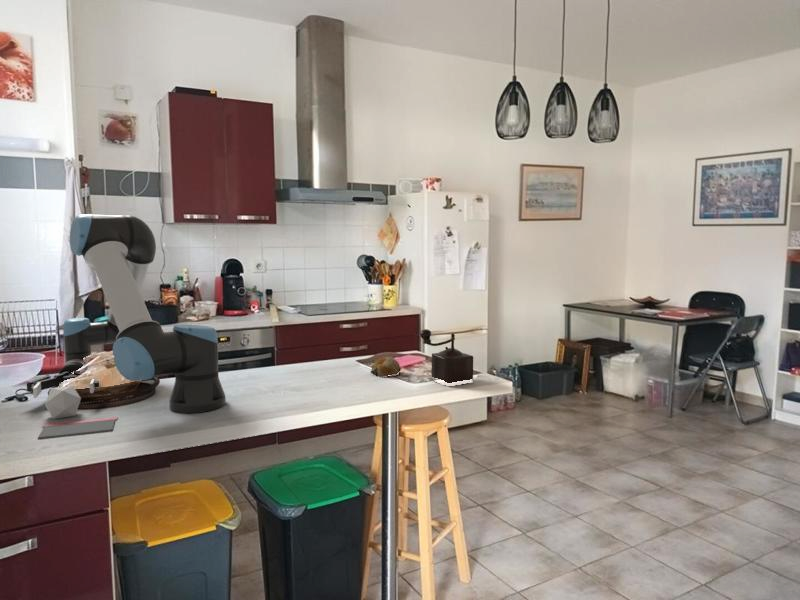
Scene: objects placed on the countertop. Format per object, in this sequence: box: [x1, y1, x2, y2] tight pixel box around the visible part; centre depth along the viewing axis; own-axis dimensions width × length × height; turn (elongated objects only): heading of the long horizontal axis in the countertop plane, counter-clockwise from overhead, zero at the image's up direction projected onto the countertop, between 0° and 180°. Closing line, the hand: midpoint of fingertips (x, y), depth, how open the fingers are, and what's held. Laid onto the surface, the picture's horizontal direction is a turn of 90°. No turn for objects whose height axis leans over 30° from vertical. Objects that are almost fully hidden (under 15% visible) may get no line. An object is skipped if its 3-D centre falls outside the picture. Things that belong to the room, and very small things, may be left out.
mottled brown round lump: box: [370, 356, 401, 377], centre depth 205 cm, size 10×10×8 cm
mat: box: [37, 420, 116, 440], centre depth 145 cm, size 16×8×1 cm, turn 112°
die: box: [44, 386, 82, 420], centre depth 156 cm, size 8×9×10 cm
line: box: [42, 416, 119, 428], centre depth 151 cm, size 17×2×1 cm, turn 112°
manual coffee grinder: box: [419, 328, 474, 383], centre depth 193 cm, size 16×11×18 cm
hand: (63, 390), depth 159 cm, fingers open, 13 cm apart
